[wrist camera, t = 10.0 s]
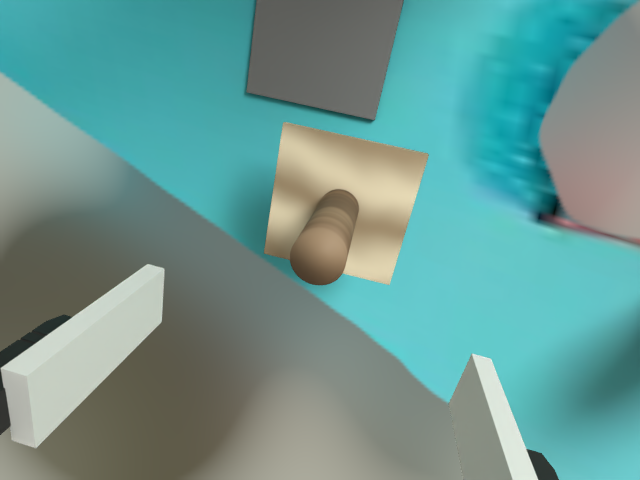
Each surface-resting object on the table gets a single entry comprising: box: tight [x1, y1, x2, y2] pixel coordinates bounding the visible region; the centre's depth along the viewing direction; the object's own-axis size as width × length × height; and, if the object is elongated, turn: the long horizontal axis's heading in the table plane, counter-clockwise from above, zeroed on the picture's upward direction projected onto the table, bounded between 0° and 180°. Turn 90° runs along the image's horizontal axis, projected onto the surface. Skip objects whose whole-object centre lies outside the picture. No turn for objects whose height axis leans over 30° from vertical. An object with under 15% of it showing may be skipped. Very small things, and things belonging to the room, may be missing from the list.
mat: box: [247, 0, 404, 120], centre depth 37 cm, size 18×14×1 cm
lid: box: [264, 122, 429, 285], centre depth 28 cm, size 12×12×12 cm
